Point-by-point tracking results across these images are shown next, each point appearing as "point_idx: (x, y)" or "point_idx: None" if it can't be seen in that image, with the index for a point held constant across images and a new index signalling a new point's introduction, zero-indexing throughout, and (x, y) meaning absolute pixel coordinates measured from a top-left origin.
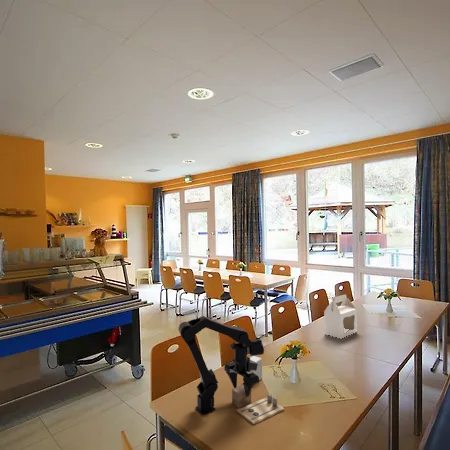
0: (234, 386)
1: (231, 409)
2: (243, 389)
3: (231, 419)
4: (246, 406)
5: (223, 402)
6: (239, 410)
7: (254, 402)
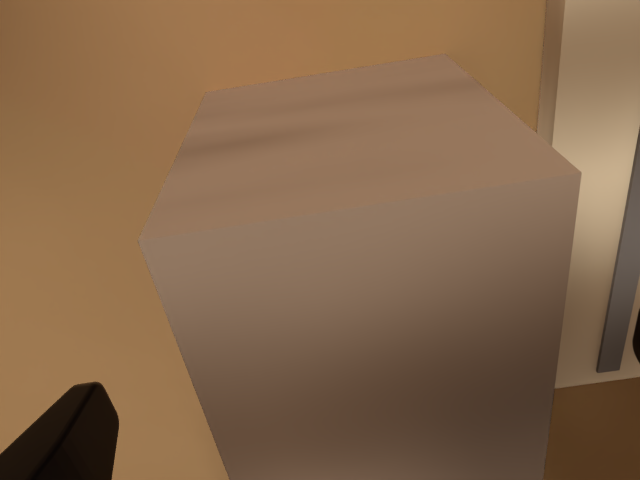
0: (110, 464)
1: None
2: (428, 382)
3: (595, 462)
4: None
5: None
6: (565, 372)
7: (564, 38)
